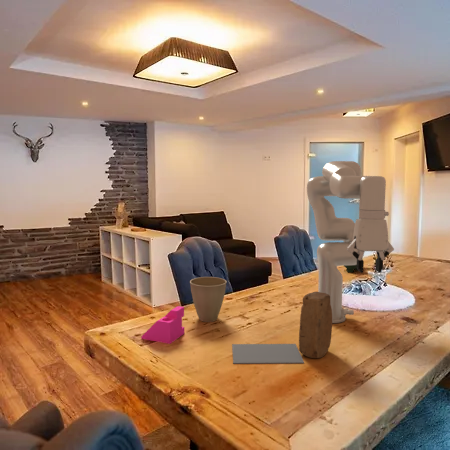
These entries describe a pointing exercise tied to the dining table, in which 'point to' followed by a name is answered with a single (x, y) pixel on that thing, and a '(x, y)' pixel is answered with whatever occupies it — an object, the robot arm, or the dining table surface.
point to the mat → (265, 353)
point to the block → (315, 325)
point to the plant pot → (208, 297)
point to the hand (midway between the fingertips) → (369, 271)
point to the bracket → (167, 327)
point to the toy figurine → (351, 268)
